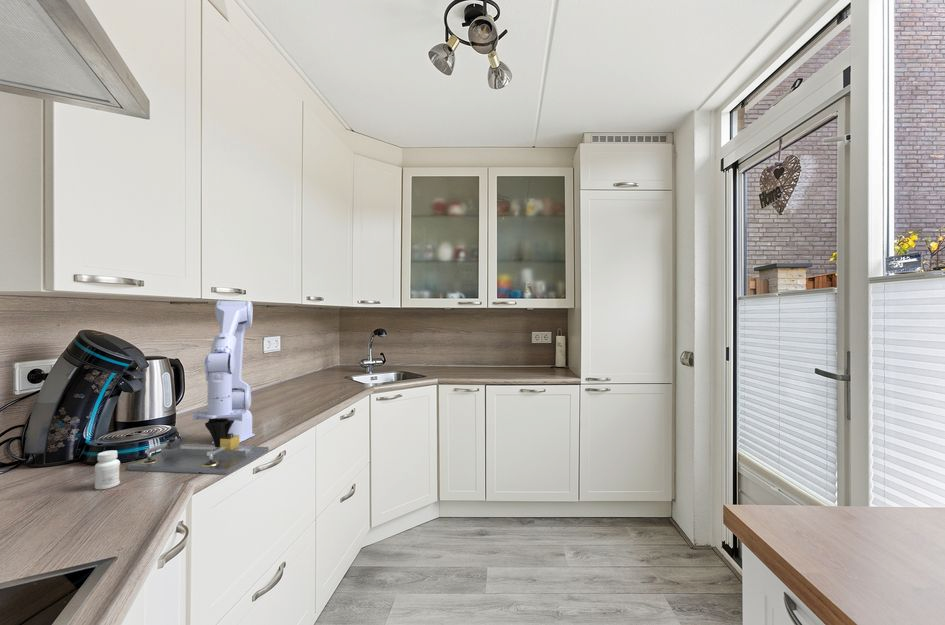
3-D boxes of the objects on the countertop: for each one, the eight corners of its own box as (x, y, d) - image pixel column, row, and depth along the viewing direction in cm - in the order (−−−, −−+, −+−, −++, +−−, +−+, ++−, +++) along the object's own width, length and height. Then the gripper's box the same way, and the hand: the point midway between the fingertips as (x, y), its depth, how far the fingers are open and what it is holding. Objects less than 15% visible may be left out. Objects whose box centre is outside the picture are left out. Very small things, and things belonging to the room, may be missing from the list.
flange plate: (182, 448, 121) (182, 443, 121) (268, 451, 118) (268, 446, 118) (128, 470, 104) (128, 464, 104) (227, 474, 101) (227, 468, 101)
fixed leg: (172, 448, 116) (172, 436, 116) (180, 448, 115) (180, 436, 115) (142, 460, 106) (142, 447, 106) (151, 460, 106) (151, 447, 106)
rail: (166, 451, 115) (166, 445, 115) (250, 454, 112) (250, 448, 112) (160, 453, 113) (160, 447, 113) (245, 456, 111) (245, 450, 111)
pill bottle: (125, 482, 97) (125, 449, 97) (106, 490, 92) (106, 456, 92) (108, 481, 97) (108, 449, 97) (89, 489, 93) (89, 455, 93)
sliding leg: (229, 450, 114) (229, 432, 114) (239, 450, 114) (239, 432, 114) (203, 463, 104) (203, 443, 104) (214, 463, 104) (214, 443, 104)
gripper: (183, 399, 109) (183, 450, 109) (234, 400, 108) (234, 452, 108) (203, 393, 116) (203, 441, 116) (251, 394, 115) (251, 443, 115)
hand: (220, 446), depth 112 cm, fingers closed
